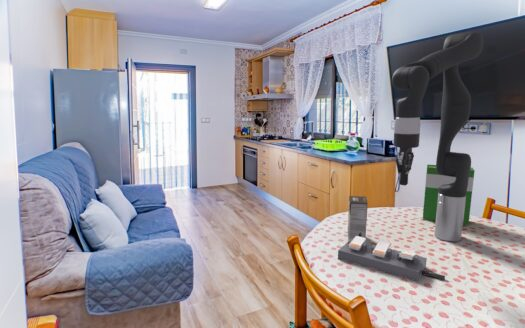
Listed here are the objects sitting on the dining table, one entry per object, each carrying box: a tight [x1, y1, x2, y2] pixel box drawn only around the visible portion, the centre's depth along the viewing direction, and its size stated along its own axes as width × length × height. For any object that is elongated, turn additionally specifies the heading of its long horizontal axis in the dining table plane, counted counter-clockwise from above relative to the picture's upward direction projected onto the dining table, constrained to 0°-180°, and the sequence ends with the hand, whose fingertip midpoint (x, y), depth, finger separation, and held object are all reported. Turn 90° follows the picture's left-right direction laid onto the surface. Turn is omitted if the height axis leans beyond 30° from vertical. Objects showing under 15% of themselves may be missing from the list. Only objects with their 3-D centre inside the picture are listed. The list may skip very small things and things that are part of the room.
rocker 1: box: [348, 236, 367, 250], centre depth 113 cm, size 7×4×1 cm, turn 144°
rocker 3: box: [399, 250, 417, 260], centre depth 103 cm, size 7×4×1 cm, turn 144°
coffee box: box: [347, 195, 369, 242], centre depth 126 cm, size 9×6×16 cm
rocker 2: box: [373, 240, 391, 258], centre depth 108 cm, size 7×4×1 cm, turn 143°
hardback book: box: [422, 164, 475, 226], centre depth 148 cm, size 18×7×24 cm, turn 64°
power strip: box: [337, 239, 446, 282], centre depth 107 cm, size 11×31×5 cm, turn 54°
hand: (403, 184), depth 109 cm, fingers closed
